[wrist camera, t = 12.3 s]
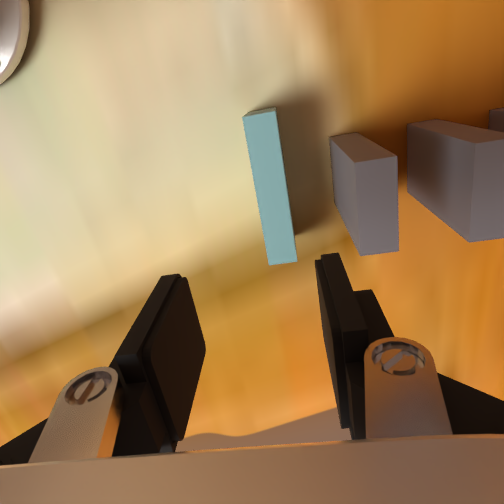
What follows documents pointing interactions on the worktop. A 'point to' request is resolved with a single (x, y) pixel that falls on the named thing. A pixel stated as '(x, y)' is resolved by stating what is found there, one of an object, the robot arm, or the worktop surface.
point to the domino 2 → (366, 192)
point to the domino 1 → (270, 184)
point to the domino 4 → (496, 120)
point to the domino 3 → (458, 176)
